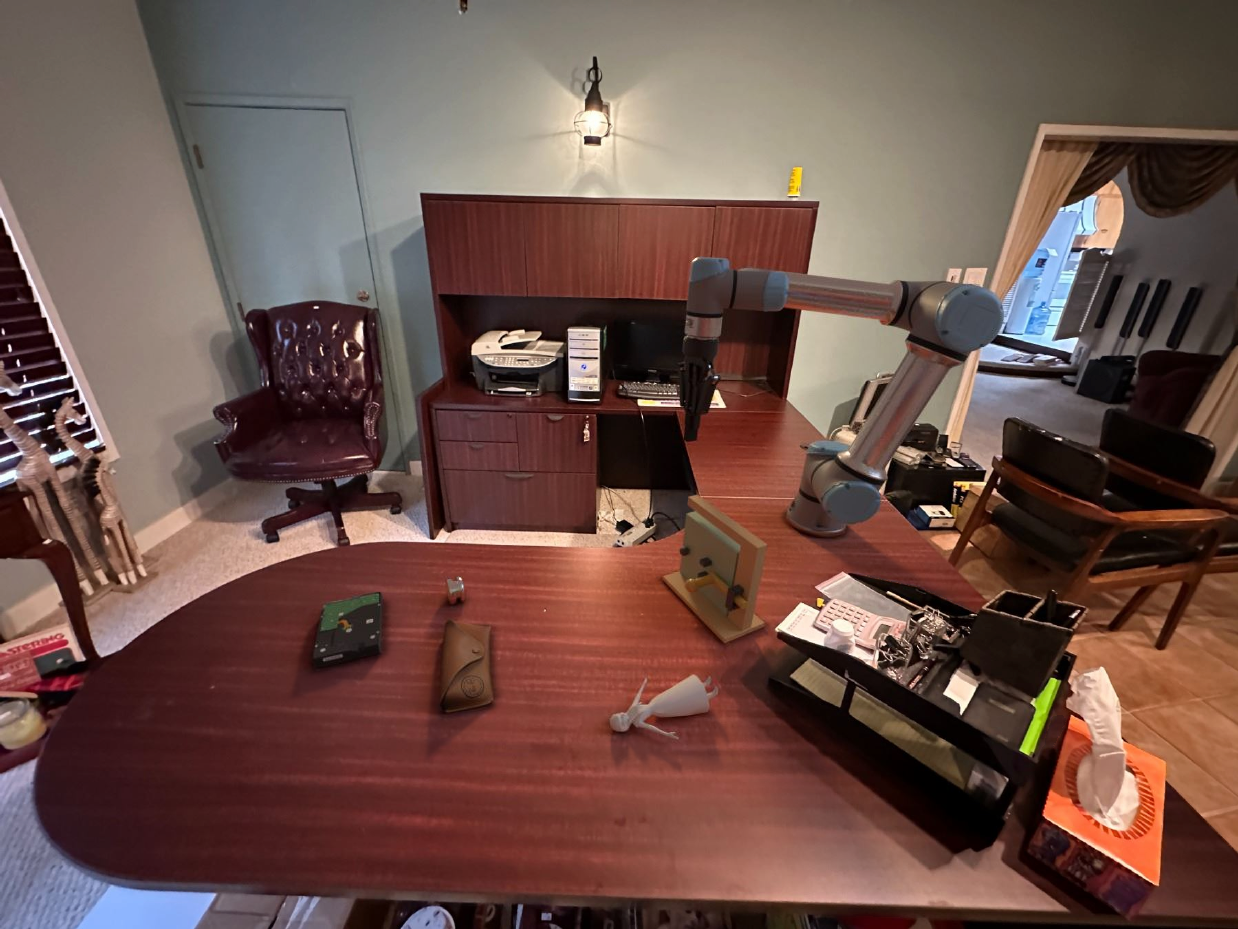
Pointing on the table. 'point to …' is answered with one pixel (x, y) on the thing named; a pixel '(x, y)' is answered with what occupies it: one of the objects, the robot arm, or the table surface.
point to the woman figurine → (667, 705)
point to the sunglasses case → (465, 667)
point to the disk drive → (349, 630)
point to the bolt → (711, 578)
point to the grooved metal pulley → (455, 589)
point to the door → (719, 570)
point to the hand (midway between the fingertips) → (690, 440)
